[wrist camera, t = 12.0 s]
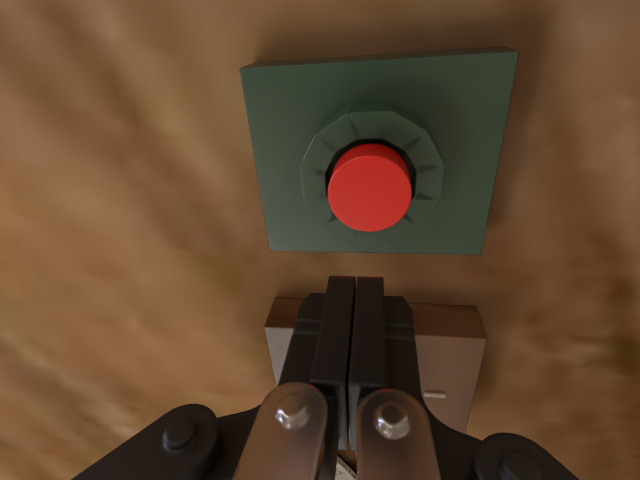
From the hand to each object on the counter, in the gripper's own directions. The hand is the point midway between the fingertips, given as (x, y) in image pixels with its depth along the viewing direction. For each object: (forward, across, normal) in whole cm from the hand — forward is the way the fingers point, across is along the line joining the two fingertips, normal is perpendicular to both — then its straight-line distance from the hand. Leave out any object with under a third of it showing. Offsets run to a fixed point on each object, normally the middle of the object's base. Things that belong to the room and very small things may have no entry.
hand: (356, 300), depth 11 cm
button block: (+12, 0, 0) cm, 12 cm away
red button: (+8, 0, 0) cm, 8 cm away
